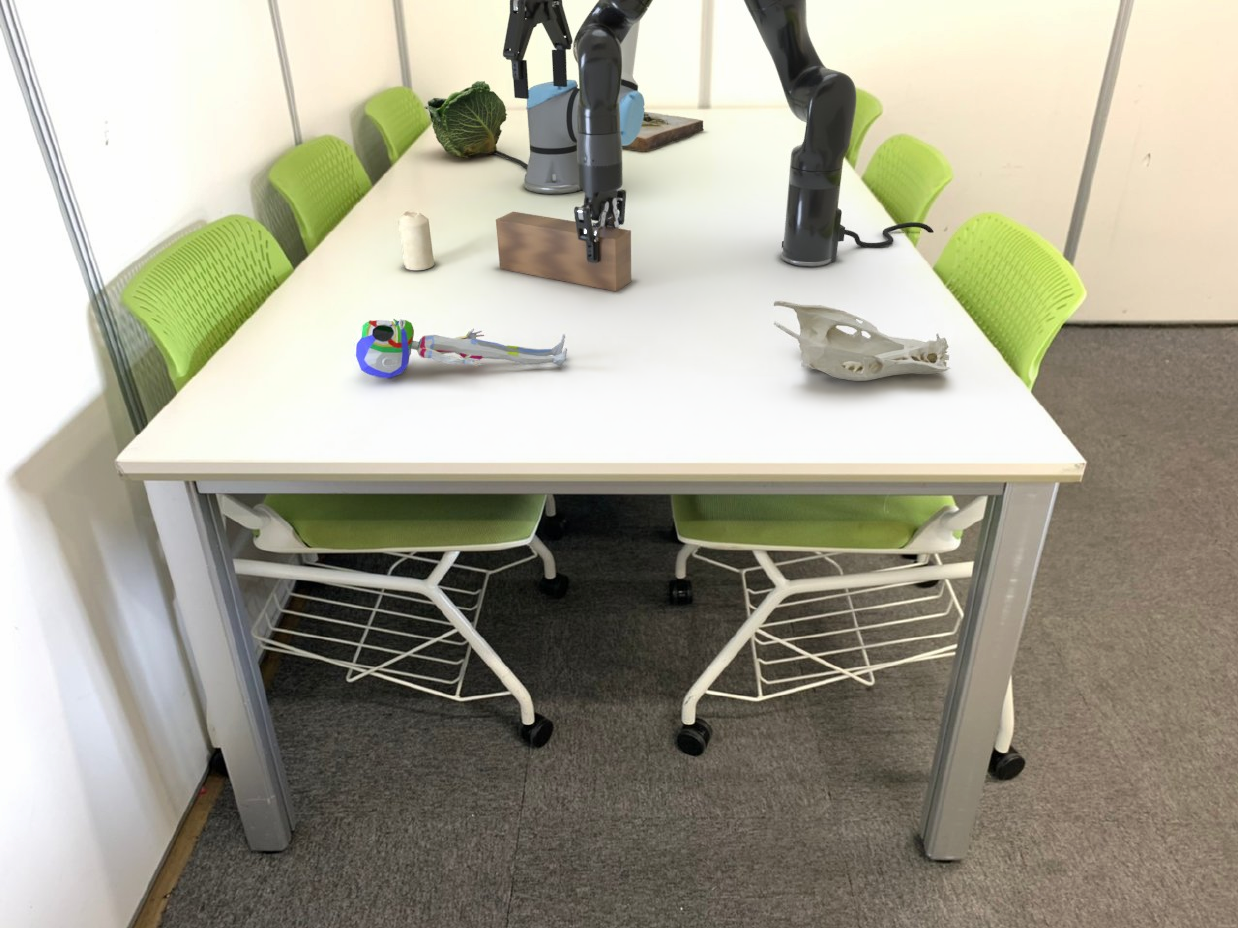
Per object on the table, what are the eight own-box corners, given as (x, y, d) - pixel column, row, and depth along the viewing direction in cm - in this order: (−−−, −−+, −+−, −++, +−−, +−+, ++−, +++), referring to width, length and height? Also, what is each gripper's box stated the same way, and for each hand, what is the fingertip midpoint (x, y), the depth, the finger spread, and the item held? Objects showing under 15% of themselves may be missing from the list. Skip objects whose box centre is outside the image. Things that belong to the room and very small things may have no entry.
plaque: (647, 125, 237) (559, 112, 252) (647, 153, 241) (560, 139, 256) (706, 107, 258) (622, 97, 273) (705, 133, 262) (622, 121, 277)
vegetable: (457, 176, 250) (415, 110, 242) (515, 138, 251) (474, 71, 243) (465, 176, 232) (420, 104, 224) (527, 135, 233) (484, 62, 225)
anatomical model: (773, 291, 133) (948, 293, 129) (771, 347, 137) (939, 351, 134) (773, 333, 120) (966, 337, 116) (770, 393, 125) (955, 399, 121)
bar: (499, 269, 167) (495, 219, 162) (516, 260, 172) (513, 211, 167) (616, 291, 157) (615, 239, 152) (631, 281, 161) (631, 230, 156)
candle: (439, 262, 170) (432, 209, 165) (425, 272, 166) (417, 218, 161) (414, 259, 172) (406, 207, 167) (399, 269, 168) (391, 216, 162)
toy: (569, 347, 126) (349, 329, 122) (563, 400, 131) (350, 385, 126) (565, 318, 135) (359, 301, 130) (559, 369, 139) (360, 354, 134)
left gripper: (512, -30, 149) (521, 105, 161) (587, -39, 168) (591, 83, 179) (475, -31, 152) (487, 101, 164) (553, -39, 171) (559, 80, 182)
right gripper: (597, 171, 142) (600, 273, 151) (640, 151, 153) (640, 248, 162) (557, 166, 146) (562, 266, 155) (602, 147, 156) (604, 241, 165)
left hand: (541, 92), depth 171 cm, fingers open, 13 cm apart
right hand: (602, 256), depth 158 cm, fingers closed on bar, 5 cm apart
